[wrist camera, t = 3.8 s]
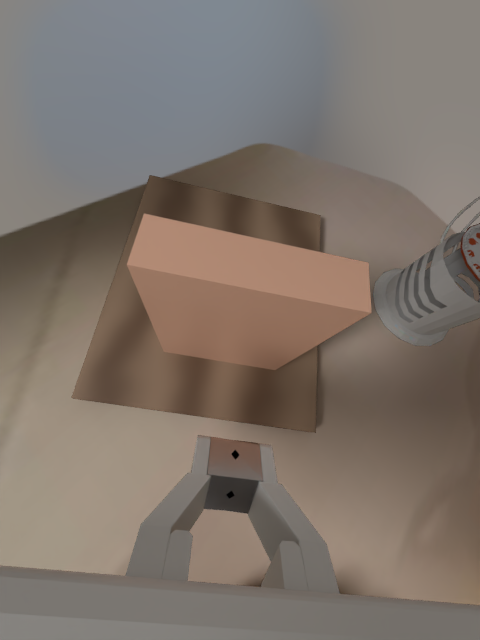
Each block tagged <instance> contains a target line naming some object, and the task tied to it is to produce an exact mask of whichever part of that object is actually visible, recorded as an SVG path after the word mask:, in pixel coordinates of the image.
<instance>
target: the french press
mask: <svg viewBox="0 0 480 640" xmlns="http://www.w3.org/2000/svg"><path fill="white" fill-rule="evenodd" d="M479 199H480V197H478V198H477V199H475V200H474V201H473V202H471V203H470V204H469V205H467V206H466V207H465V208H464V209H463V210H461V211H460V212H459V213H458V214H457V216H456V217H455V218H454V219H453V220H452V221H451V223H450V224H449V225H448V226H447V228H446V230H445V231H444V233H443V235H442V237H441V240H440V244H439V245H437V246H436V247H434V248H433V249H432V250H430V251H429V252H427V253H426V254H425V255H423V256H422V257H420V258H419V259H418V260H416V261H415V262H413V263H412V264H411V265H409V266H408V267H406V268H405V269H393V270H390V271H387V272H384V273H383V274H382V275H381V276H380V278H379V279H378V280H377V281H376V282H375V287H374V292H373V299H374V304H375V309H376V312H377V314H378V315H379V317H380V319H381V320H382V322H383V324H384V325H385V327H387V328H388V329H389V330H390V331H391V332H392V333H393V334H394V335H395V336H397V337H398V338H399V339H401V340H403V341H406V342H408V343H410V344H412V345H415V346H431V345H433V344H435V343H437V342H440V341H442V340H443V338H444V337H445V335H446V333H447V332H448V330H449V329H450V328H453V327H456V326H459V325H462V324H465V323H467V322H470V321H473V320H476V319H479V318H480V299H479V301H476V300H474V295H473V289H472V288H471V287H470V286H469V285H468V284H467V283H466V282H465V281H464V280H463V279H461V278H459V277H458V276H457V275H459V274H460V273H462V274H463V275H465V276H467V277H469V278H470V279H471V280H472V281H473V282H474V283H475V284H476V285H477V286H478V288H479V297H480V223H479V224H477V225H473V226H471V227H469V226H470V224H472V223H473V222H474V221H475V220H476V219H477V218H478V217H479V216H480V213H478V214H477V215H476V216H475V217H474V218H473V219H472V220H471V222H470V223H469V224H468V225H467V226H466V227H465V228H464V229H463V230H462V231H461V233H457V234H453V235H451V236H450V237H449V238H447V239H446V240H444V238H445V236H446V234H447V232H448V230H449V228H450V226H451V225H452V224H453V222H454V221H455V220H456V219H457V218H458V217H459V216H460V215H461V214H462V213H463V212H464V211H465V210H467V209H468V208H469V207H470V206H471V205H472V204H474V203H475V202H476V201H478V200H479ZM468 227H469V228H468ZM467 228H468V229H467ZM466 229H467V231H466V232H464V231H465V230H466ZM460 241H461V248H460V249H458V250H457V251H456V249H457V246H458V243H459V242H460ZM454 245H455V246H454ZM453 246H454V249H453V252H452V254H450V255H449V256H447V257H446V258H444V259H443V253H444V252H445V251H447V250H448V249H450V248H451V247H453ZM430 261H432V264H431V267H430V268H428V269H427V270H425V269H426V265H427V263H429V262H430ZM420 268H421V269H420ZM418 269H420V272H419V273H417V272H416V271H417V270H418ZM468 269H469V270H468ZM455 282H456V283H458V284H459V285H460V286H461V287H462V288H463V289H464V290H465V292H466V293H467V294H466V293H465V292H464V291H462V290H461V289H460V288H459V287H458V286H457V284H456V283H455Z"/></svg>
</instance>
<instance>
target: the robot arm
mask: <svg viewBox="0 0 480 640" xmlns="http://www.w3.org/2000/svg"><path fill="white" fill-rule="evenodd" d="M203 509H213V510H225V511H233V512H240V513H247V514H248V516H249V518H250V520H251V522H252V524H253V526H254V528H255V530H256V532H257V534H258V536H259V538H260V540H261V542H262V545H263V547H264V549H265V551H266V553H267V555H268V557H269V559H270V561H271V564H270V566H269V569H268V571H267V573H266V575H265V577H264V579H263V581H262V584H261V587H254V586H242V585H230V584H218V583H206V582H194V581H187V580H188V572H189V563H190V555H191V546H192V538H193V536H192V534H191V533H190V532H189V531H190V529H191V528H192V526H193V525H194V523H195V522H196V520H197V519H198V517H199V516H200V514H201V513H202V511H203ZM0 640H480V605H471V604H459V603H447V602H435V601H422V600H410V599H398V598H386V597H374V596H362V595H350V594H340V592H339V589H338V585H337V581H336V577H335V574H334V570H333V566H332V563H331V559H330V555H329V551H328V548H327V544H326V543H325V541H324V540H323V539H322V537H321V536H320V535H319V533H318V532H317V531H316V529H315V528H314V527H313V525H312V524H311V523H310V521H309V520H308V519H307V517H306V516H305V515H304V513H303V512H302V511H301V509H300V508H299V507H298V505H297V504H296V503H295V501H294V500H293V499H292V497H291V496H290V495H289V493H288V492H287V491H286V489H285V488H284V487H283V485H282V484H278V481H277V475H276V468H275V462H274V456H273V449H272V446H271V445H267V444H260V443H259V444H258V443H253V442H245V441H237V440H228V439H222V438H216V437H208V436H202V435H198V437H197V442H196V447H195V452H194V457H193V463H192V468H191V473H187V474H186V475H185V476H184V477H183V479H182V480H181V481H180V482H179V483H178V484H177V485H176V486H175V487H174V488H173V490H172V491H171V492H170V493H169V494H168V495H167V496H166V497H165V498H164V499H163V501H162V502H161V503H160V504H159V505H158V506H157V507H156V508H155V509H154V511H153V512H152V513H151V514H150V515H149V516H148V517H147V518H146V519H145V520H144V522H143V523H142V524H141V526H140V529H139V532H138V536H137V539H136V542H135V546H134V549H133V552H132V556H131V559H130V562H129V566H128V569H127V572H126V576H121V575H109V574H97V573H85V572H73V571H61V570H49V569H37V568H25V567H12V566H0Z"/></svg>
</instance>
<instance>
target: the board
mask: <svg viewBox="0 0 480 640" xmlns="http://www.w3.org/2000/svg"><path fill="white" fill-rule="evenodd" d="M144 214H149V215H153V216H158V217H162V218H167V219H171V220H176V221H181V222H185V223H190V224H194V225H199V226H203V227H208V228H212V229H217V230H222V231H226V232H231V233H235V234H240V235H244V236H249V237H253V238H258V239H263V240H267V241H272V242H276V243H281V244H285V245H290V246H294V247H299V248H304V249H308V250H313V251H317V252H320V215H317V214H313V213H309V212H304V211H300V210H296V209H292V208H288V207H283V206H279V205H275V204H271V203H266V202H262V201H258V200H254V199H249V198H245V197H241V196H237V195H232V194H228V193H224V192H220V191H215V190H211V189H207V188H203V187H198V186H194V185H190V184H186V183H181V182H177V181H173V180H169V179H164V178H160V177H156V176H151V175H150V176H149V179H148V182H147V185H146V188H145V191H144V193H143V196H142V199H141V202H140V205H139V208H138V210H137V213H136V216H135V219H134V222H133V225H132V227H131V230H130V233H129V236H128V239H127V242H126V244H125V247H124V250H123V253H122V256H121V259H120V261H119V264H118V267H117V270H116V273H115V276H114V278H113V281H112V284H111V287H110V290H109V293H108V295H107V298H106V301H105V304H104V307H103V310H102V312H101V315H100V318H99V321H98V324H97V327H96V329H95V332H94V335H93V338H92V341H91V344H90V346H89V349H88V352H87V355H86V358H85V361H84V363H83V366H82V369H81V372H80V375H79V378H78V380H77V383H76V386H75V389H74V392H73V395H72V397H71V398H74V399H80V400H87V401H95V402H102V403H109V404H116V405H123V406H130V407H137V408H144V409H151V410H158V411H165V412H172V413H179V414H186V415H193V416H201V417H208V418H215V419H222V420H229V421H236V422H243V423H250V424H257V425H264V426H271V427H278V428H285V429H292V430H299V431H307V432H315V433H316V395H317V350H318V345H317V346H315V347H313V348H312V349H310V350H308V351H307V352H305V353H303V354H302V355H300V356H298V357H297V358H295V359H293V360H292V361H290V362H288V363H286V364H285V365H283V366H281V367H280V368H278V369H276V370H271V369H265V368H259V367H253V366H247V365H241V364H235V363H228V362H222V361H216V360H210V359H204V358H198V357H192V356H186V355H180V354H174V353H168V352H164V351H163V349H162V346H161V344H160V342H159V339H158V337H157V335H156V332H155V330H154V328H153V325H152V323H151V321H150V318H149V316H148V314H147V311H146V309H145V307H144V304H143V302H142V299H141V297H140V295H139V292H138V290H137V288H136V285H135V283H134V281H133V278H132V276H131V274H130V271H129V269H128V267H127V262H128V259H129V256H130V253H131V250H132V247H133V244H134V242H135V239H136V236H137V233H138V230H139V227H140V224H141V221H142V218H143V215H144Z"/></svg>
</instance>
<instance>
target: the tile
mask: <svg viewBox="0 0 480 640" xmlns="http://www.w3.org/2000/svg"><path fill="white" fill-rule="evenodd" d="M127 267H128V269H129V271H130V274H131V276H132V278H133V281H134V283H135V285H136V288H137V290H138V292H139V295H140V297H141V299H142V302H143V304H144V307H145V309H146V311H147V314H148V316H149V318H150V321H151V323H152V325H153V328H154V330H155V332H156V335H157V337H158V339H159V342H160V344H161V346H162V349H163V351H164V352H168V353H174V354H180V355H186V356H192V357H198V358H204V359H210V360H216V361H222V362H228V363H235V364H241V365H247V366H253V367H259V368H265V369H271V370H276V369H278V368H280V367H281V366H283V365H285V364H286V363H288V362H290V361H292V360H293V359H295V358H297V357H298V356H300V355H302V354H303V353H305V352H307V351H308V350H310V349H312V348H313V347H315V346H317V345H318V344H320V343H322V342H324V341H325V340H327V339H329V338H330V337H332V336H334V335H335V334H337V333H339V332H340V331H342V330H344V329H345V328H347V327H349V326H350V325H352V324H354V323H356V322H357V321H359V320H361V319H362V318H364V317H366V316H367V315H369V314H371V297H370V280H369V263H367V262H363V261H358V260H354V259H349V258H345V257H340V256H335V255H331V254H326V253H322V252H317V251H313V250H308V249H304V248H299V247H294V246H290V245H285V244H281V243H276V242H272V241H267V240H263V239H258V238H253V237H249V236H244V235H240V234H235V233H231V232H226V231H222V230H217V229H212V228H208V227H203V226H199V225H194V224H190V223H185V222H181V221H176V220H171V219H167V218H162V217H158V216H153V215H149V214H144V215H143V218H142V221H141V224H140V227H139V230H138V233H137V236H136V239H135V242H134V244H133V247H132V250H131V253H130V256H129V259H128V262H127Z"/></svg>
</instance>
